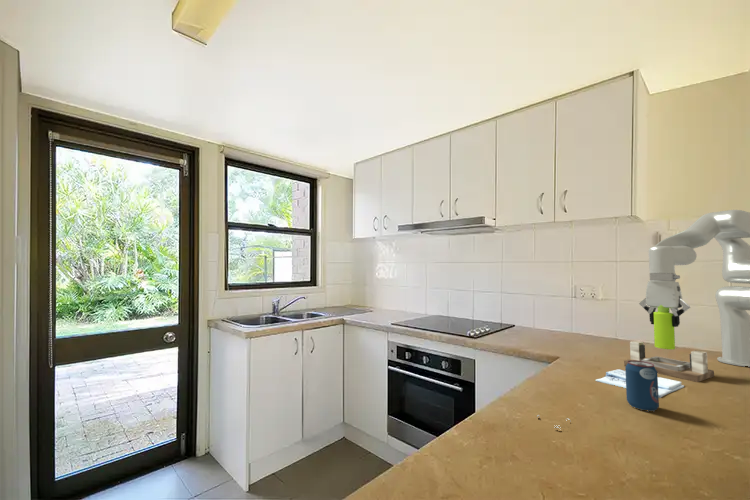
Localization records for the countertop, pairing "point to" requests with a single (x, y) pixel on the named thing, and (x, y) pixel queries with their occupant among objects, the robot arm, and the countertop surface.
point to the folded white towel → (619, 380)
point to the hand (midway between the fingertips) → (664, 324)
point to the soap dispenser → (663, 329)
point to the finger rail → (674, 364)
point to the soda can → (642, 385)
